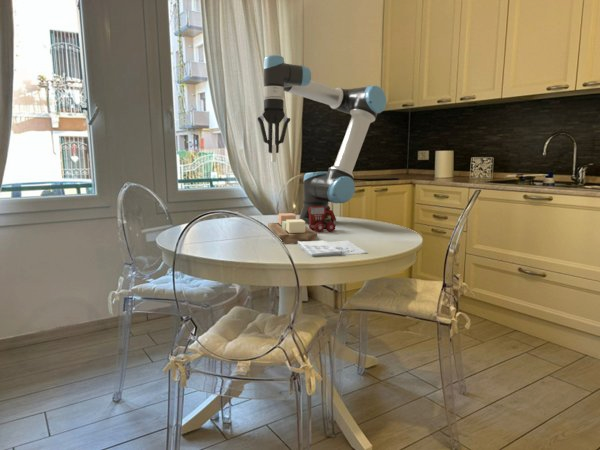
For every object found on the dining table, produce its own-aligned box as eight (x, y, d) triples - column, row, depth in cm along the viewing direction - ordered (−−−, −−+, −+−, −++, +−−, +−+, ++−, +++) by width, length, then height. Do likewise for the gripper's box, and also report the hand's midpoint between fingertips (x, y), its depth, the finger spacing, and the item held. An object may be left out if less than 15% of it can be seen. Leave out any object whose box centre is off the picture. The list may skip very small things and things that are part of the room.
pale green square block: (296, 230, 173) (296, 220, 172) (300, 233, 167) (300, 223, 166) (282, 230, 171) (282, 220, 171) (284, 233, 166) (285, 223, 165)
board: (300, 229, 183) (300, 221, 183) (317, 241, 158) (317, 233, 158) (268, 230, 180) (268, 222, 180) (279, 243, 155) (279, 234, 155)
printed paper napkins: (296, 245, 154) (296, 239, 154) (350, 243, 159) (350, 238, 159) (310, 258, 136) (310, 252, 136) (370, 256, 141) (370, 249, 140)
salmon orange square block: (292, 222, 180) (292, 213, 179) (295, 225, 174) (295, 215, 174) (278, 223, 179) (278, 213, 178) (281, 225, 173) (281, 215, 172)
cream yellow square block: (301, 229, 165) (301, 219, 164) (305, 232, 159) (305, 221, 158) (286, 230, 163) (286, 219, 163) (289, 233, 158) (289, 222, 157)
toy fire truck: (339, 231, 180) (340, 206, 178) (312, 233, 175) (312, 207, 173) (331, 228, 186) (332, 204, 184) (305, 230, 181) (305, 205, 179)
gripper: (258, 97, 160) (258, 161, 164) (292, 98, 163) (291, 162, 167) (255, 99, 167) (255, 161, 171) (288, 100, 170) (287, 161, 174)
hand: (273, 161), depth 169 cm, fingers closed
